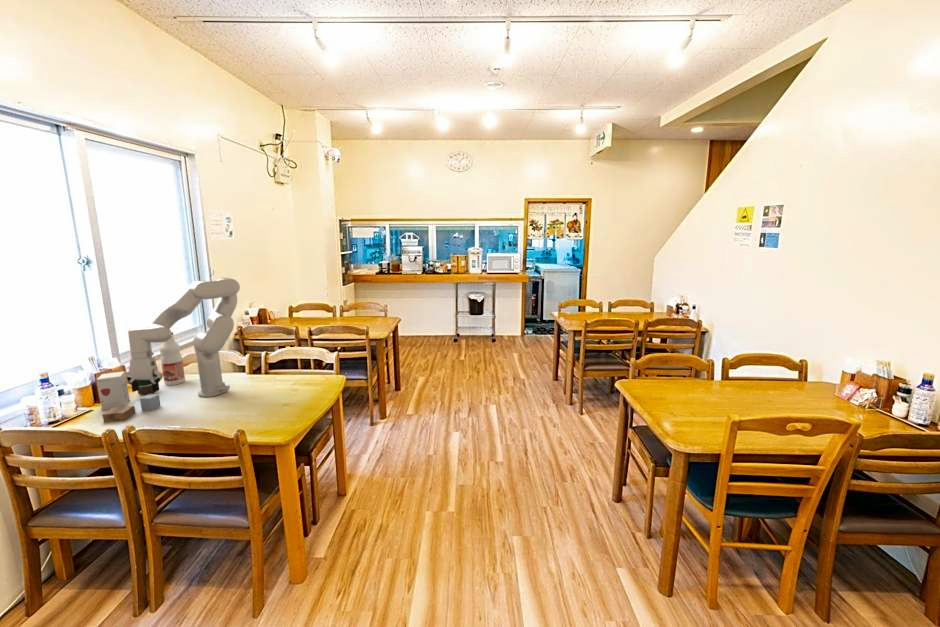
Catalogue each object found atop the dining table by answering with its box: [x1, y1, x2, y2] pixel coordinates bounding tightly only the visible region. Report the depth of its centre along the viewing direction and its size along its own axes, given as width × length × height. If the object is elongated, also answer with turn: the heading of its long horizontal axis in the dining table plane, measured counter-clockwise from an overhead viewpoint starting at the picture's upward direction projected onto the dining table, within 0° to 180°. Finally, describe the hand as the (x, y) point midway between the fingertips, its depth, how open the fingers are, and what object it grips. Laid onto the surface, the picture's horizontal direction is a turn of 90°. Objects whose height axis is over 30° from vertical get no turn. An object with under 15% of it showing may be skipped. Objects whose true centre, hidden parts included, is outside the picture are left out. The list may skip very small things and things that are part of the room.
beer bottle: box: [137, 379, 155, 396], centre depth 212 cm, size 8×8×24 cm
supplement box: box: [96, 371, 131, 410], centre depth 198 cm, size 9×9×15 cm
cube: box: [139, 394, 162, 412], centre depth 193 cm, size 5×5×6 cm
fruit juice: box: [159, 331, 186, 386], centre depth 227 cm, size 9×9×28 cm
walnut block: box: [101, 405, 137, 423], centre depth 184 cm, size 8×8×4 cm
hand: (145, 391), depth 192 cm, fingers open, 9 cm apart
